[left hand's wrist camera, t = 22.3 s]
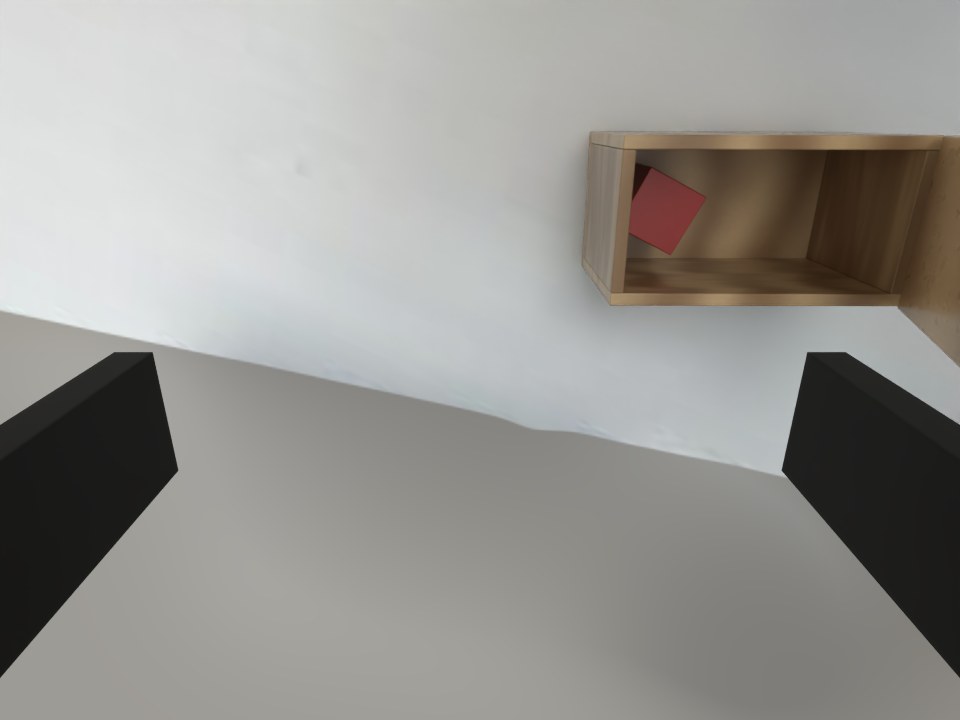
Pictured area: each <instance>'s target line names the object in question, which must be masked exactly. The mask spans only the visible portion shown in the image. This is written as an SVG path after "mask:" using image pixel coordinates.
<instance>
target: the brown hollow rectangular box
mask: <svg viewBox="0 0 960 720" xmlns="http://www.w3.org/2000/svg"><path fill="white" fill-rule="evenodd" d="M943 137H944V135H914V134H881V133H847V132H590V147H589V162H588V177H587V193H586V208H585V223H584V238H583V254H582V266H583V267H584V269H585V270H586V272H587V273H588V275H589V276H590V277H591V279H592V280H593V282H594V283H595V285H596V286H597V287H598V289H599V290H600V292H601V293H602V295H603V296H604V297H605V299H606V300H607V302H608V303H609V305H670V306H898V303H899V300H900V296H901V292H902V289H903V285H904V281H905V277H906V274H907V270H908V266H909V263H910V259H911V255H912V251H913V248H914V244H915V240H916V237H917V233H918V229H919V225H920V222H921V218H922V214H923V211H924V207H925V203H926V199H927V196H928V192H929V188H930V185H931V181H932V177H933V174H934V170H935V166H936V162H937V159H938V155H939V151H940V148H941V144H942V140H943ZM635 163H638V164H642V165H646V166H650V167H653V168H655V169H656V170H658V171H660V172H662V173H664V174H666V175H667V176H669V177H671V178H673V179H675V180H676V181H678V182H680V183H682V184H684V185H685V186H687V187H689V188H691V189H693V190H695V191H696V192H698V193H700V194H702V195H704V196H705V197H706V199H705V201H704V203H703V204H702V206H701V208H700V209H699V211H698V212H697V214H696V216H695V217H694V219H693V220H692V222H691V224H690V225H689V227H688V228H687V230H686V232H685V233H684V235H683V237H682V238H681V240H680V241H679V243H678V245H677V246H676V248H675V249H674V251H673V253H672V254H671V255H669V254H667V253H665V252H663V251H661V250H659V249H657V248H656V247H654V246H652V245H650V244H648V243H646V242H644V241H642V240H640V239H638V238H637V237H635V236H633V235H631V234H629V226H630V215H631V204H632V194H633V183H634V172H635Z"/></svg>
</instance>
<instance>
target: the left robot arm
mask: <svg viewBox="0 0 960 720" xmlns="http://www.w3.org/2000/svg"><path fill="white" fill-rule="evenodd" d="M177 472H178V467H177V462H176V458H175V453H174V448H173V444H172V439H171V435H170V430H169V426H168V421H167V416H166V412H165V407H164V403H163V398H162V393H161V389H160V384H159V380H158V375H157V370H156V366H155V361H154V357H153V353H152V352H114V353H113V354H111V355H109V356H108V357H106V358H105V359H103V360H102V361H100V362H98V363H97V364H95V365H94V366H92V367H91V368H89V369H87V370H86V371H84V372H83V373H81V374H80V375H78V376H76V377H75V378H73V379H72V380H70V381H69V382H67V383H65V384H64V385H62V386H61V387H59V388H58V389H56V390H54V391H53V392H51V393H50V394H48V395H47V396H45V397H43V398H42V399H40V400H39V401H37V402H36V403H34V404H32V405H31V406H29V407H28V408H26V409H25V410H23V411H21V412H20V413H18V414H17V415H15V416H14V417H12V418H10V419H9V420H7V421H6V422H4V423H3V424H1V425H0V677H1V676H2V675H3V674H4V673H5V672H6V670H7V669H8V668H9V667H10V666H11V665H12V663H13V662H14V661H15V660H16V659H17V658H18V656H19V655H20V654H21V653H22V652H23V651H24V649H25V648H26V647H27V646H28V645H29V644H30V642H31V641H32V640H33V639H34V638H35V637H36V636H37V634H38V633H39V632H40V631H41V630H42V629H43V627H44V626H45V625H46V624H47V623H48V622H49V620H50V619H51V618H52V617H53V616H54V615H55V613H56V612H57V611H58V610H59V609H60V608H61V606H62V605H63V604H64V603H65V602H66V601H67V599H68V598H69V597H70V596H71V595H72V594H73V593H74V591H75V590H76V589H77V588H78V587H79V585H80V584H81V583H82V582H83V581H84V580H85V579H86V577H87V576H88V575H89V574H90V573H91V572H92V570H93V569H94V568H95V567H96V566H97V565H98V563H99V562H100V561H101V560H102V559H103V558H104V556H105V555H106V554H107V553H108V552H109V551H110V549H111V548H112V547H113V546H114V545H115V544H116V542H117V541H118V540H119V539H120V538H121V537H122V535H123V534H124V533H125V532H126V531H127V530H128V529H129V527H130V526H131V525H132V524H133V523H134V522H135V520H136V519H137V518H138V517H139V516H140V515H141V513H142V512H143V511H144V510H145V509H146V508H147V506H148V505H149V504H150V503H151V502H152V501H153V499H154V498H155V497H156V496H157V495H158V494H159V492H160V491H161V490H162V489H163V488H164V487H165V485H166V484H167V483H168V482H169V481H170V480H171V478H172V477H173V476H174V475H175V474H176V473H177ZM782 472H783V473H784V474H785V475H786V476H787V477H788V478H789V480H790V481H791V482H792V483H793V484H794V485H795V487H796V488H797V489H798V490H799V491H800V492H801V494H802V495H803V496H804V497H805V498H806V499H807V501H808V502H809V503H810V504H811V505H812V506H813V508H814V509H815V510H816V511H817V512H818V513H819V515H820V516H821V517H822V518H823V519H824V520H825V522H826V523H827V524H828V525H829V526H830V527H831V529H832V530H833V531H834V532H835V533H836V534H837V536H838V537H839V538H840V539H841V540H842V541H843V542H844V544H845V545H846V546H847V547H848V548H849V549H850V551H851V552H852V553H853V554H854V555H855V556H856V558H857V559H858V560H859V561H860V562H861V563H862V565H863V566H864V567H865V568H866V569H867V570H868V572H869V573H870V574H871V575H872V576H873V577H874V579H875V580H876V581H877V582H878V583H879V584H880V586H881V587H882V588H883V589H884V590H885V591H886V593H887V594H888V595H889V596H890V597H891V598H892V599H893V601H894V602H895V603H896V604H897V605H898V606H899V608H900V609H901V610H902V611H903V612H904V613H905V615H906V616H907V617H908V618H909V619H910V620H911V622H912V623H913V624H914V625H915V626H916V627H917V629H918V630H919V631H920V632H921V633H922V634H923V635H924V637H925V638H926V639H927V640H928V641H929V643H930V644H931V645H932V646H933V647H934V648H935V650H936V651H937V652H938V653H939V654H940V655H941V656H942V658H943V659H944V660H945V661H946V662H947V663H948V665H949V666H950V667H951V668H952V669H953V670H954V672H955V673H956V674H957V675H958V676H959V677H960V425H959V424H957V423H956V422H954V421H953V420H951V419H950V418H948V417H946V416H945V415H943V414H942V413H940V412H939V411H937V410H935V409H934V408H932V407H931V406H929V405H928V404H926V403H924V402H923V401H921V400H920V399H918V398H917V397H915V396H913V395H912V394H910V393H909V392H907V391H906V390H904V389H902V388H901V387H899V386H898V385H896V384H895V383H893V382H891V381H890V380H888V379H887V378H885V377H884V376H882V375H880V374H879V373H877V372H876V371H874V370H873V369H871V368H869V367H868V366H866V365H865V364H863V363H862V362H860V361H858V360H857V359H855V358H854V357H852V356H851V355H849V354H847V353H846V352H807V357H806V361H805V366H804V370H803V375H802V380H801V384H800V389H799V393H798V398H797V403H796V407H795V412H794V416H793V421H792V425H791V430H790V435H789V439H788V444H787V448H786V453H785V458H784V462H783V467H782Z"/></svg>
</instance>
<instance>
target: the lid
mask: <svg viewBox="0 0 960 720" xmlns="http://www.w3.org/2000/svg"><path fill="white" fill-rule="evenodd" d="M898 309H899V310H900V311H901V312H902V313H903V314H905V315H906V316H907V317H908V318H909V319H910V320H911V321H912V322H913V323H914V324H915V325H916V326H917V327H918V328H919V329H920V330H921V331H922V332H923V333H924V334H925V335H926V336H928V337H929V338H930V339H931V340H932V341H933V342H934V343H935V344H936V345H937V346H938V347H939V348H940V349H941V350H942V351H943V352H944V353H945V354H946V355H947V356H948V357H949V358H951V359H952V360H953V361H954V362H955V363H956V364H957V365H958V366H959V367H960V136H944V137H943V140H942V144H941V148H940V151H939V155H938V159H937V162H936V166H935V170H934V174H933V177H932V181H931V185H930V188H929V192H928V196H927V199H926V203H925V207H924V211H923V214H922V218H921V222H920V225H919V229H918V233H917V237H916V240H915V244H914V248H913V251H912V255H911V259H910V263H909V266H908V270H907V274H906V277H905V281H904V285H903V289H902V292H901V296H900V300H899V303H898Z"/></svg>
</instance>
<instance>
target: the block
mask: <svg viewBox="0 0 960 720" xmlns="http://www.w3.org/2000/svg"><path fill="white" fill-rule="evenodd" d="M705 199H706V197H705V196H704V195H702V194H700V193H698V192H696V191H695V190H693V189H691V188H689V187H687V186H685V185H684V184H682V183H680V182H678V181H676V180H675V179H673V178H671V177H669V176H667V175H666V174H664V173H662V172H660V171H658V170H656V169H655V168H653V167H650V166H646V165H642V164H638V163H635V172H634V183H633V194H632V204H631V215H630V226H629V234H631V235H633V236H635V237H637V238H638V239H640V240H642V241H644V242H646V243H648V244H650V245H652V246H654V247H656V248H657V249H659V250H661V251H663V252H665V253H667V254H669V255H671V254H672V253H673V251H674V249H675V248H676V246H677V245H678V243H679V241H680V240H681V238H682V237H683V235H684V233H685V232H686V230H687V228H688V227H689V225H690V224H691V222H692V220H693V219H694V217H695V216H696V214H697V212H698V211H699V209H700V208H701V206H702V204H703V203H704V201H705Z"/></svg>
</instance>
